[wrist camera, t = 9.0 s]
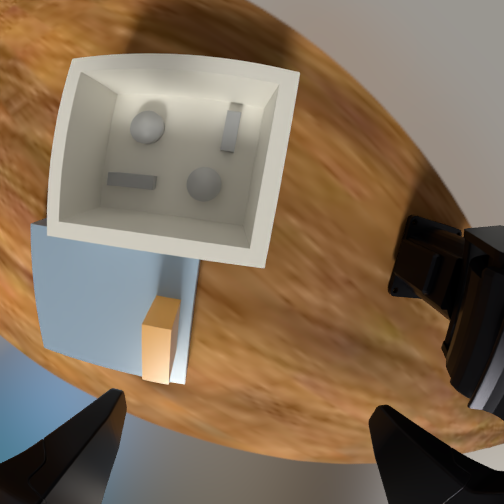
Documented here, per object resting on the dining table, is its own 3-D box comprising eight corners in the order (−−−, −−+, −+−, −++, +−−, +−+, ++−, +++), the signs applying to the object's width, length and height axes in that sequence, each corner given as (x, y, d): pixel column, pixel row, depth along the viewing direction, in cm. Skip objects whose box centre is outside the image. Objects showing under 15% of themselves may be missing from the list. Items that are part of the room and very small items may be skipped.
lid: (202, 244, 18) (193, 275, 13) (187, 368, 21) (179, 419, 16) (45, 218, 17) (-1, 236, 11) (54, 335, 19) (24, 372, 14)
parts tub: (277, 102, 16) (299, 72, 10) (252, 237, 18) (264, 268, 13) (113, 86, 15) (72, 58, 9) (94, 215, 17) (47, 235, 11)
